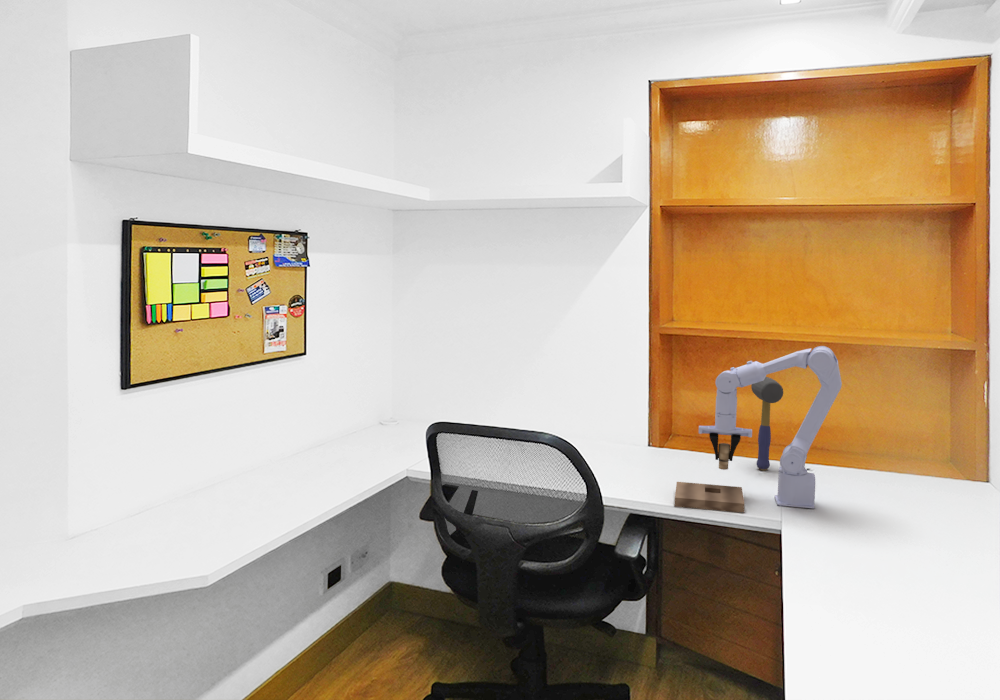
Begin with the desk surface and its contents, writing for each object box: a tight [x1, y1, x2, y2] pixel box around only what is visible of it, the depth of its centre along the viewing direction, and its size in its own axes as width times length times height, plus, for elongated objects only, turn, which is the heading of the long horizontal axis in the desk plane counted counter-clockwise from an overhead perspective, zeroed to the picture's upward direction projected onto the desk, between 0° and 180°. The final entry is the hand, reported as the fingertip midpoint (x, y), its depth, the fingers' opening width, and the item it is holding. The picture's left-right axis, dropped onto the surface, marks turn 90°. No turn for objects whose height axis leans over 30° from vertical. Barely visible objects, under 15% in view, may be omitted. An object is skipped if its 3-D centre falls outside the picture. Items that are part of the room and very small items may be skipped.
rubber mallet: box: [750, 376, 784, 471], centre depth 230 cm, size 12×8×30 cm, turn 176°
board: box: [674, 481, 745, 514], centre depth 200 cm, size 18×15×2 cm
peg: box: [718, 442, 731, 471], centre depth 206 cm, size 3×3×7 cm
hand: (723, 459), depth 206 cm, fingers closed on peg, 3 cm apart
